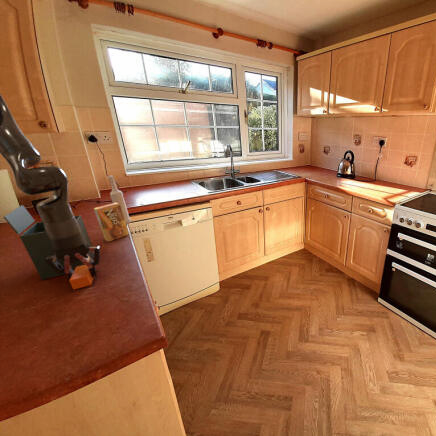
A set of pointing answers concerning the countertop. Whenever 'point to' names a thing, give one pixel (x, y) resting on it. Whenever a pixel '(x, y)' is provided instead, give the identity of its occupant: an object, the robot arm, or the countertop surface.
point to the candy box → (111, 221)
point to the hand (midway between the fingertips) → (84, 278)
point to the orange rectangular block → (81, 277)
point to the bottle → (119, 199)
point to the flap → (19, 219)
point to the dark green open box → (48, 248)
